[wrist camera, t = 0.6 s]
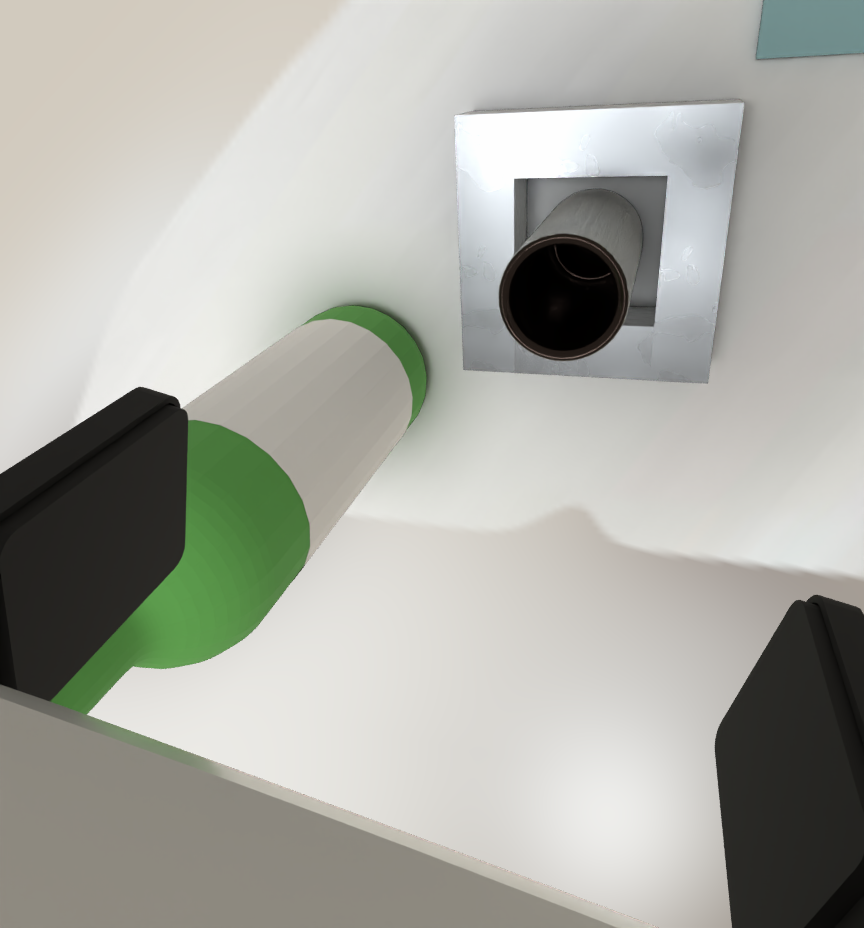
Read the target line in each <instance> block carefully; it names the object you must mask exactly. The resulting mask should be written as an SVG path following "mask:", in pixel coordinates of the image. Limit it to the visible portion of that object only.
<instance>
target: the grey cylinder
mask: <svg viewBox="0 0 864 928" xmlns="http://www.w3.org/2000/svg"><path fill="white" fill-rule="evenodd" d="M642 246H643V231H642V225H641V221H640V219H639V216H638V214H637V212H636V211H635V209H634V208H633V206H632V205H631V204H630V203H629V202H628V201H627V200H626V199H624V198H623V197H622V196H620V195H618V194H616V193H614V192H611V191H608V190H603V189H588V190H583V191H580V192H577V193H575V194H573V195H571V196H569V197H568V198H566V199H565V200H563V201H562V202H561V203H560V204H558V205H557V206H556V208H555V209H554V210H553V211H552V212H551V213H550V214H549V216H548V217H547V218H546V219H545V220H544V221H543V222H542V224H541V225H540V226H539V227H538V228H537V229H536V230H535V232H534V233H533V234H532V235H531V236H530V237H529V238H528V240H527V241H526V242H525V243H524V244H523V245H522V246H521V248H520V249H519V250H518V251H517V252H516V253H515V255H514V256H513V257H512V258H511V260H510V261H509V263H508V264H507V266H506V268H505V270H504V272H503V275H502V278H501V281H500V285H499V293H498V301H499V309H500V313H501V317H502V320H503V322H504V324H505V326H506V328H507V330H508V332H509V333H510V334H511V336H512V337H513V338H514V339H515V341H516V342H517V343H518V344H520V345H521V346H522V347H523V348H524V349H526V350H527V351H529V352H531V353H532V354H534V355H536V356H539V357H541V358H544V359H548V360H553V361H574V360H579V359H583V358H586V357H589V356H591V355H593V354H595V353H597V352H598V351H600V350H602V349H603V348H604V347H606V346H607V345H608V344H609V343H610V342H611V341H612V340H613V339H614V338H615V336H616V335H617V334H618V332H619V331H620V329H621V327H622V325H623V323H624V321H625V319H626V316H627V312H628V308H629V304H630V300H631V295H632V291H633V286H634V282H635V278H636V273H637V269H638V264H639V260H640V256H641V251H642Z"/></svg>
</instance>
